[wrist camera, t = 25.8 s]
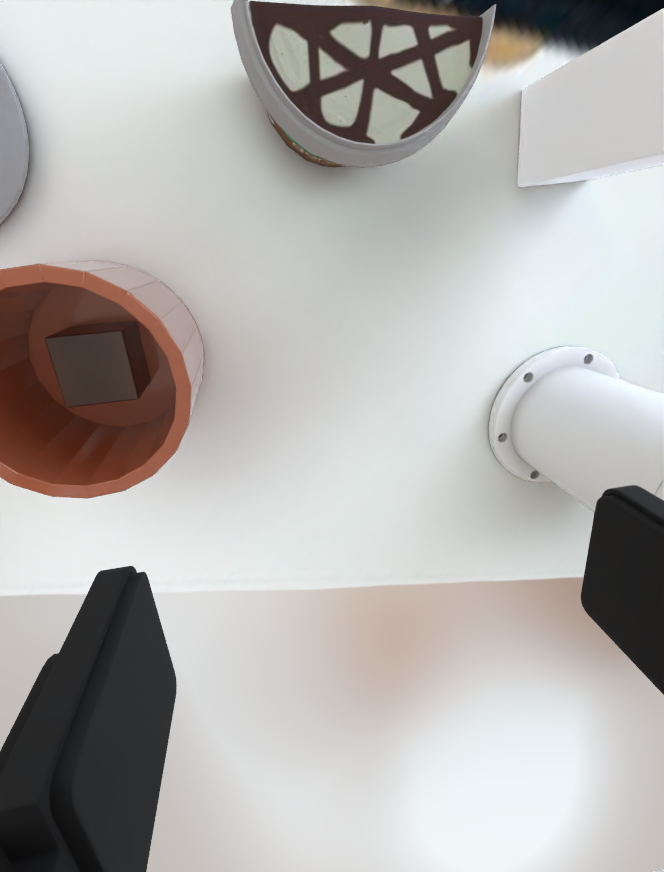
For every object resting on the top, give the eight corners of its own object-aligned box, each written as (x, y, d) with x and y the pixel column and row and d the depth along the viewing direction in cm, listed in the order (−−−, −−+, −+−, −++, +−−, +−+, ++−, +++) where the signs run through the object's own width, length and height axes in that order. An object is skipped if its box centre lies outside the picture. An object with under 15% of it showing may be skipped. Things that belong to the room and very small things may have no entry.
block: (136, 320, 31) (122, 330, 27) (151, 381, 33) (139, 399, 29) (69, 326, 31) (43, 337, 27) (86, 389, 32) (65, 408, 28)
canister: (238, 350, 34) (238, 387, 25) (132, 463, 36) (96, 535, 26) (93, 219, 29) (27, 204, 20) (-21, 356, 31) (-130, 399, 22)
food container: (242, 186, 30) (243, 158, 21) (233, 72, 28) (229, -17, 19) (419, 187, 32) (491, 161, 23) (425, 81, 30) (507, 4, 21)
